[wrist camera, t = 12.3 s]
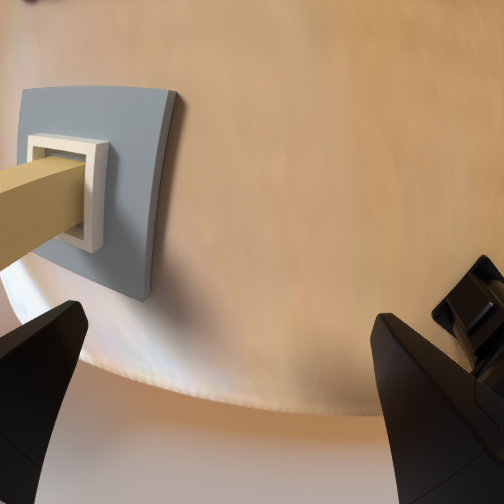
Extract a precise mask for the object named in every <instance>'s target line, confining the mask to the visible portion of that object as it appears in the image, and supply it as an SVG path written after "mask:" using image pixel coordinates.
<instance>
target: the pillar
mask: <svg viewBox="0 0 504 504" xmlns="http://www.w3.org/2000/svg"><path fill="white" fill-rule="evenodd" d="M85 167H86V162H81V161H76V160H71V159H66V158H61V157H55V156H50V157H46V158H42V159H38V160H35V161H31V162H28V163H24V164H21V165H18V166H15V167H12V168H8V169H5V170H2V171H0V271H2V270H3V269H5V268H6V267H8V266H9V265H11V264H12V263H14V262H15V261H17V260H18V259H20V258H21V257H23V256H25V255H26V254H28V253H29V252H31V251H33V250H34V249H36V248H37V247H39V246H41V245H42V244H44V243H46V242H47V241H49V240H51V239H52V238H54V237H56V236H57V235H59V234H61V233H63V232H64V231H66V230H68V229H70V228H72V227H73V226H75V225H77V224H79V223H81V222H82V221H84V185H85Z"/></svg>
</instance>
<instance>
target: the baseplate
mask: <svg viewBox="0 0 504 504" xmlns="http://www.w3.org/2000/svg"><path fill="white" fill-rule="evenodd" d="M176 93H177V92H175V91H170V90H162V89H151V88H138V87H119V86H64V87H46V88H34V89H24V90H23V92H22V99H21V107H20V116H19V127H18V142H17V166H18V165H21V164H24V163H28V162H31V161H35V160H38V159H42V158H46V157H50V156H55V157H61V158H66V159H71V160H76V161H81V162H86V167H85V185H84V221H82V222H81V223H79V224H77V225H75V226H73V227H72V228H70V229H68V230H66V231H64V232H63V233H61V234H59V235H57V236H56V237H54V238H52V239H51V240H49V241H47V242H46V243H44V244H42V245H41V246H39V247H37V248H36V249H34V250H33V251H31V252H33V253H35V254H37V255H39V256H41V257H43V258H45V259H47V260H49V261H51V262H53V263H55V264H57V265H59V266H61V267H63V268H65V269H68V270H70V271H72V272H74V273H76V274H78V275H80V276H83V277H85V278H87V279H89V280H91V281H94V282H96V283H98V284H101V285H103V286H105V287H107V288H110V289H112V290H114V291H117V292H119V293H122V294H124V295H126V296H129V297H131V298H134V299H136V300H139V301H141V302H144V301H145V300H146V299H147V297H148V296H149V295H150V283H151V267H152V253H153V241H154V231H155V221H156V212H157V203H158V195H159V188H160V181H161V174H162V167H163V161H164V155H165V149H166V143H167V137H168V132H169V127H170V121H171V116H172V111H173V107H174V102H175V97H176Z"/></svg>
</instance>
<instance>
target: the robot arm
mask: <svg viewBox="0 0 504 504" xmlns="http://www.w3.org/2000/svg"><path fill="white" fill-rule="evenodd" d="M483 261H485V262H484V263H483ZM438 313H439V314H438ZM436 314H438V315H436ZM431 315H432V318H433V319H434V320H435V321H436V322H437V323H438V324H440V325H441V326H442V327H443V328H444V329H446V330H447V331H448V332H449V333H450V334H452V335H453V336H454V337H455V338H456V339H458V341H459V343H460V344H461V346H462V349H463V351H464V353H465V355H466V357H467V359H468V361H469V363H470V365H471V367H472V371H471V372H470V373H468V372H467V371H466V370H465V369H463V368H462V367H461V366H460V365H458V364H457V363H456V362H455V361H453V360H452V359H451V358H450V357H448V356H447V355H446V354H445V353H443V352H442V351H441V350H439V349H438V348H437V347H436V346H434V345H433V344H432V343H430V342H429V341H428V340H427V339H425V338H424V337H423V336H421V335H420V334H419V333H417V332H416V331H415V330H414V329H412V328H411V327H410V326H408V325H407V324H406V323H404V322H403V321H402V320H400V319H399V318H398V317H396V316H395V315H394V314H392V313H380V314H378V315H377V317H376V320H375V323H374V326H373V329H372V332H371V337H370V343H371V349H372V356H373V363H374V370H375V377H376V384H377V390H378V394H379V398H380V402H381V407H382V411H383V415H384V420H385V425H386V429H387V434H388V439H389V444H390V449H391V454H392V460H393V466H394V471H395V477H396V484H397V491H398V498H399V504H504V277H503V276H502V275H501V273H500V272H499V271H498V269H497V268H496V267H495V265H494V264H493V263H492V262H491V260H490V259H489V258H488V257H487V256H486V255H482V256H481V257H480V258H479V259H478V260H477V261H476V263H475V264H474V265H473V266H472V267H471V269H470V270H469V271H468V272H467V273H466V275H465V276H464V277H463V278H462V279H461V280H460V282H459V283H458V284H457V285H456V286H455V287H454V288H453V289H452V291H451V292H450V293H449V294H448V295H447V296H446V297H445V298H444V299H443V300H442V301H441V302H440V304H439V305H438V306H437V307H436V308H435V309H434V310H433V311H432V313H431ZM87 330H88V320H87V317H86V315H85V312H84V310H83V307H82V305H81V303H80V302H78V301H73V300H69V301H66V302H64V303H63V304H61V305H59V306H57V307H55V308H53V309H51V310H49V311H47V312H46V313H44V314H42V315H40V316H38V317H36V318H34V319H33V320H31V321H29V322H27V323H25V324H24V325H22V326H20V327H18V328H16V329H15V330H13V331H11V332H9V333H7V334H6V335H4V336H2V337H0V504H3V503H5V504H34V502H35V497H36V492H37V487H38V483H39V479H40V474H41V470H42V466H43V461H44V458H45V454H46V451H47V447H48V444H49V441H50V437H51V434H52V431H53V428H54V425H55V421H56V419H57V415H58V413H59V410H60V407H61V404H62V401H63V398H64V396H65V393H66V391H67V388H68V385H69V383H70V380H71V378H72V375H73V373H74V370H75V367H76V364H77V361H78V358H79V355H80V352H81V348H82V345H83V342H84V339H85V336H86V333H87Z"/></svg>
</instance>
